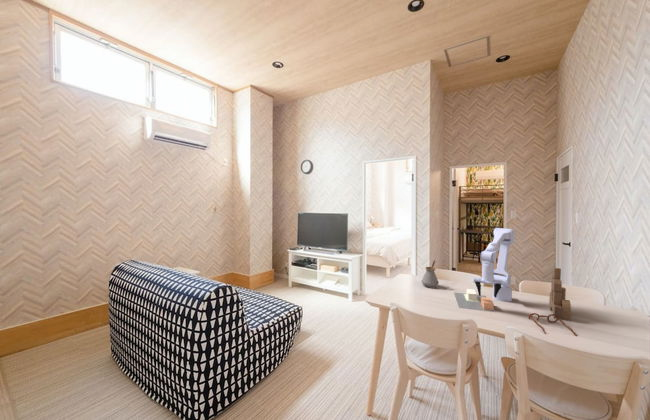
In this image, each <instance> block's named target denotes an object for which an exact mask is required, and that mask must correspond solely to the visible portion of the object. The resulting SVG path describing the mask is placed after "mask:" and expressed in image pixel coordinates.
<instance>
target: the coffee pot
mask: <svg viewBox="0 0 650 420" xmlns="http://www.w3.org/2000/svg"><path fill="white" fill-rule="evenodd" d="M435 264H436V260H435V259H434V260H433V261H432V265H431V266H426V267H425V272H424V274H423V276H422V279H421V283H422V285H423V286H424V287H425V288H429V287H434V288H436V287H437V286H439V284H440V282H439V279H438V277H437V275H436V273H435V271H436V268H435V267H434V266H435Z"/></svg>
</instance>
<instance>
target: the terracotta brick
mask: <svg viewBox="0 0 650 420" xmlns="http://www.w3.org/2000/svg"><path fill="white" fill-rule="evenodd" d="M486 297H487V296H486ZM486 297H481V305H482V307H483V308H484V309H485V310H493V308H494V304H495V303H494V302H493V300H492V299H491V297H487V298H486ZM494 309H495V308H494Z"/></svg>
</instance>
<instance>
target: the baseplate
mask: <svg viewBox="0 0 650 420" xmlns="http://www.w3.org/2000/svg"><path fill="white" fill-rule="evenodd" d="M453 293H454V296H455V297H454V298H455V299H456V303H457V306H458V308H459V309H463V310H464V309H466V310H473V311H483V312H490V313H496V310H495V308H493V310H485V309H484V308H483V307H482V305H481V297H486V298H488V297H487V295H483V294H481V296H479V294H477V301H474V300H468V298H467V295H466V293H463V292H453Z"/></svg>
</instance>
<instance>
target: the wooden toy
mask: <svg viewBox="0 0 650 420" xmlns="http://www.w3.org/2000/svg"><path fill="white" fill-rule="evenodd" d="M561 273H562V268H557V267H554V269H553V271H552V274H551V285H550V286H551V288H550V292H549V300H548V301H549V305H548V306H549V307H548V308H549V310H550V311H551V312H552V314H555V315H557V316H558V318H560V319H561V320H562V321H571V315H572V304H571V300H569V299H566V294H567V292H566V291H567V288H566V287H564V286H563V285H562V279H561V278H562V277H561V275H562V274H561ZM552 317H553V319H556V316H552Z"/></svg>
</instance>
